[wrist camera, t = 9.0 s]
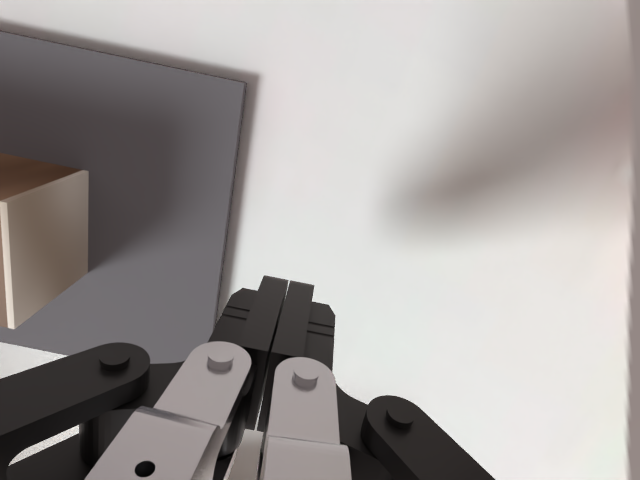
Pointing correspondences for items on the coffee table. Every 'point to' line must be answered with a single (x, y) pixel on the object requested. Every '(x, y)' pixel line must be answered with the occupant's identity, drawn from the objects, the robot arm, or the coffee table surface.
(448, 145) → the coffee table surface
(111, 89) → the mat
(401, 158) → the coffee table surface
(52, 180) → the walnut block
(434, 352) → the coffee table surface
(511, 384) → the coffee table surface
